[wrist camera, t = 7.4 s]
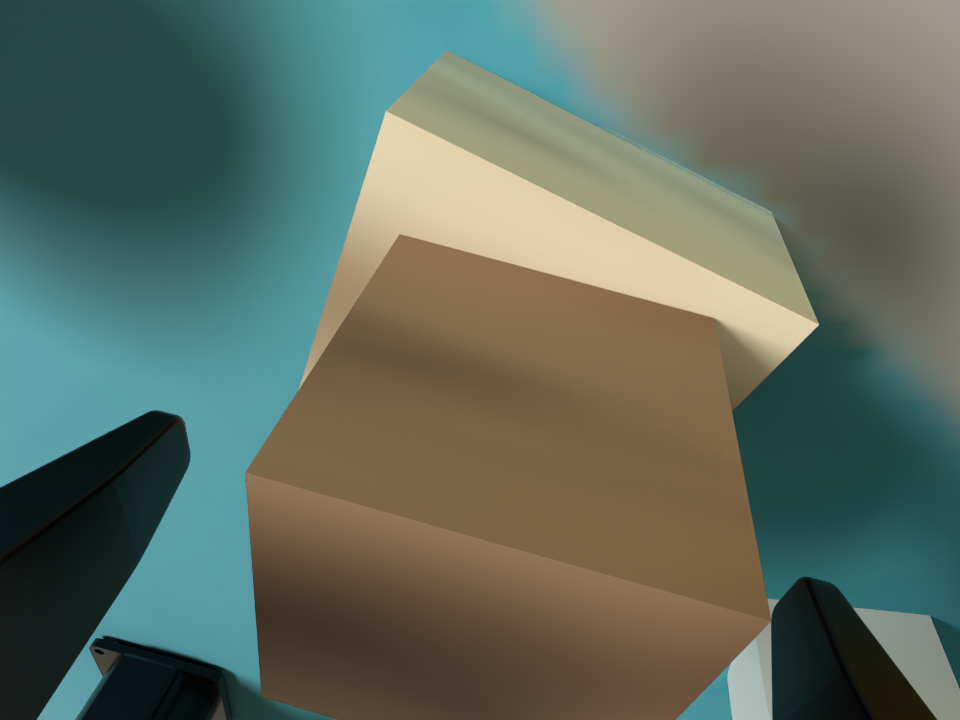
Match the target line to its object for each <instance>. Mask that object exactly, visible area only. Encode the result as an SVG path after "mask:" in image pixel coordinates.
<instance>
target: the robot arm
mask: <svg viewBox="0 0 960 720" xmlns="http://www.w3.org/2000/svg"><path fill="white" fill-rule="evenodd" d="M189 462H190V448H189V443H188V438H187V432H186V427H185V423H184V420H183V419H182V418H181V417H180V416H178V415H174V414H171V413H167V412H163V411H157V410H155V411H150V412H147V413H145V414H143V415H141V416H139V417H137V418H136V419H134V420H132V421H130V422H128V423H126V424H124V425H122V426H120V427H118V428H116V429H114V430H112V431H110V432H108V433H106V434H104V435H102V436H100V437H98V438H96V439H94V440H92V441H91V442H89V443H87V444H85V445H83V446H81V447H79V448H77V449H75V450H73V451H71V452H69V453H67V454H65V455H63V456H61V457H59V458H57V459H55V460H53V461H51V462H49V463H47V464H46V465H44V466H42V467H40V468H38V469H36V470H34V471H32V472H30V473H28V474H26V475H24V476H22V477H20V478H18V479H16V480H14V481H12V482H10V483H8V484H6V485H4V486H2V487H0V720H37V718H38V717H39V715H40V713H41V712H42V710H43V709H44V707H45V706H46V704H47V703H48V701H49V700H50V698H51V697H52V695H53V694H54V692H55V691H56V689H57V688H58V686H59V684H60V683H61V681H62V680H63V678H64V677H65V675H66V674H67V672H68V671H69V669H70V668H71V666H72V665H73V663H74V662H75V660H76V659H77V657H78V655H79V654H80V652H81V651H82V649H83V648H84V646H85V645H86V643H87V642H88V640H89V639H90V637H91V636H92V634H93V633H94V631H95V630H96V628H97V626H98V625H99V623H100V622H101V620H102V619H103V617H104V616H105V614H106V613H107V611H108V610H109V608H110V607H111V605H112V604H113V602H114V601H115V599H116V597H117V596H118V594H119V593H120V591H121V590H122V588H123V587H124V585H125V584H126V582H127V581H128V579H129V578H130V576H131V574H132V573H133V571H134V570H135V568H136V566H137V565H138V563H139V562H140V560H141V558H142V556H143V554H144V552H145V551H146V549H147V547H148V545H149V543H150V541H151V539H152V537H153V535H154V533H155V531H156V529H157V527H158V525H159V524H160V522H161V520H162V518H163V516H164V514H165V512H166V510H167V508H168V506H169V504H170V502H171V500H172V498H173V496H174V494H175V492H176V490H177V488H178V486H179V484H180V482H181V480H182V478H183V477H184V475H185V473H186V471H187V468H188V466H189ZM89 649H90V651H91V654H92V656H93V658H94V660H95V662H96V664H97V666H98V668H99V670H100V672H101V674H102V676H103V678H102V680H101V681H100V683H99V684H98V686H97V687H96V689H95V690H94V692H93V693H92V695H91V696H90V698H89V699H88V701H87V703H86V704H85V706H84V707H83V709H82V710H81V712H80V713H79V715H78V716H77V718H76V719H75V720H232V718H231V713H230V708H229V704H228V699H227V694H226V690H225V685H224V681H223V676H222V674H221V673H219V672H218V671H216V670H213V669H210V668H207V667H203V666H199V665H196V664H192V663H188V662H185V661H181V660H177V659H174V658H170V657H166V656H163V655H159V654H156V653H152V652H148V651H145V650H141V649H137V648H134V647H130V646H126V645H123V644H119V643H115V642H112V641H108V640H104V639H100V638H96V639H95V640H94V641H93V643H92V644H91V646H90V647H89ZM771 668H772V720H937V718H936V717H935V716H934V714H933V713H932V712H931V710H930V709H929V708H928V706H927V705H926V704H925V702H924V701H923V700H922V698H921V697H920V696H919V695H918V693H917V692H916V691H915V689H914V688H913V687H912V685H911V684H910V683H909V681H908V680H907V679H906V677H905V676H904V675H903V673H902V672H901V671H900V669H899V668H898V667H897V665H896V664H895V663H894V662H893V660H892V659H891V658H890V656H889V655H888V654H887V652H886V651H885V650H884V648H883V647H882V646H881V644H880V643H879V642H878V640H877V639H876V638H875V636H874V635H873V634H872V632H871V631H870V630H869V628H868V627H867V626H866V625H865V623H864V622H863V621H862V619H861V618H860V617H859V615H858V614H857V613H856V611H855V610H854V609H853V607H852V606H851V605H850V603H849V602H848V601H847V599H846V598H845V597H844V595H843V594H842V593H841V592H840V590H839V589H838V588H837V587H836V586H835V585H833V584H831V583H829V582H826V581H822V580H818V579H814V578H810V577H802V578H799V579H798V580H797V581H796V582H795V583H794V584H793V586H792V587H791V588H790V589H789V590H788V591H787V592H786V593H785V595H784V596H783V597H782V598H781V599H780V600H779V601H778V603H777V604H776V605H775V607H774V609H773V612H772V616H771Z"/></svg>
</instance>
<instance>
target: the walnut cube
mask: <svg viewBox="0 0 960 720" xmlns="http://www.w3.org/2000/svg"><path fill="white" fill-rule="evenodd" d="M245 474H246V488H247V502H248V516H249V529H250V543H251V557H252V571H253V584H254V598H255V612H256V626H257V639H258V653H259V667H260V681H261V694H262V697H263V698H267V699H270V700H273V701H277V702H280V703H284V704H287V705H291V706H294V707H297V708H301V709H304V710H308V711H311V712H314V713H318V714H321V715H325V716H328V717H331V718H335V719H338V720H676V719H677V718H678V717H679V716H680V715H681V714H682V713H683V712H684V710H685V709H686V708H687V707H688V706H689V705H690V704H691V703H692V702H693V701H694V700H695V699H696V698H697V697H698V696H699V695H700V694H701V693H702V692H703V691H704V690H705V689H706V688H707V687H708V686H709V685H710V684H711V683H712V682H713V681H714V680H715V679H716V678H717V677H718V676H719V675H720V674H721V673H722V672H723V670H724V669H725V668H726V667H727V666H728V665H729V664H730V663H731V662H732V661H733V660H734V659H735V658H736V657H737V656H738V655H739V654H740V653H741V652H742V651H743V650H744V649H745V648H746V647H747V646H748V645H749V644H750V643H751V642H752V641H753V640H754V639H755V638H756V637H757V636H758V635H759V634H760V633H761V632H762V630H763V629H764V628H765V627H766V626H767V625H768V624H769V623H770V622H771V616H770V610H769V605H768V600H767V594H766V589H765V584H764V578H763V573H762V568H761V562H760V557H759V552H758V547H757V541H756V536H755V531H754V525H753V520H752V515H751V509H750V504H749V499H748V494H747V488H746V483H745V478H744V472H743V467H742V462H741V456H740V451H739V446H738V440H737V435H736V430H735V425H734V419H733V414H732V409H731V403H730V398H729V393H728V387H727V382H726V377H725V371H724V366H723V361H722V356H721V350H720V345H719V340H718V334H717V329H716V324H715V318H711V317H708V316H704V315H700V314H696V313H693V312H689V311H685V310H682V309H678V308H674V307H670V306H667V305H663V304H659V303H656V302H652V301H648V300H644V299H641V298H637V297H633V296H630V295H626V294H622V293H618V292H615V291H611V290H607V289H604V288H600V287H596V286H592V285H589V284H585V283H581V282H578V281H574V280H570V279H566V278H563V277H559V276H555V275H552V274H548V273H544V272H540V271H537V270H533V269H529V268H526V267H522V266H518V265H514V264H511V263H507V262H503V261H499V260H496V259H492V258H488V257H484V256H481V255H477V254H473V253H469V252H465V251H462V250H458V249H454V248H450V247H447V246H443V245H439V244H435V243H432V242H428V241H424V240H420V239H417V238H413V237H409V236H405V235H401V234H399V236H398V237H397V239H396V240H395V242H394V243H393V245H392V246H391V248H390V250H389V251H388V253H387V254H386V256H385V257H384V259H383V260H382V262H381V264H380V265H379V267H378V268H377V270H376V271H375V273H374V274H373V276H372V277H371V279H370V281H369V282H368V284H367V285H366V287H365V288H364V290H363V291H362V293H361V294H360V296H359V298H358V299H357V301H356V302H355V304H354V305H353V307H352V308H351V310H350V311H349V313H348V315H347V316H346V318H345V319H344V321H343V322H342V324H341V325H340V327H339V328H338V330H337V332H336V333H335V335H334V336H333V338H332V339H331V341H330V342H329V344H328V346H327V347H326V349H325V350H324V352H323V353H322V355H321V356H320V358H319V359H318V361H317V363H316V364H315V366H314V367H313V369H312V370H311V372H310V373H309V375H308V376H307V378H306V380H305V381H304V383H303V384H302V386H301V387H300V389H299V390H298V392H297V393H296V395H295V397H294V398H293V400H292V401H291V403H290V404H289V406H288V407H287V409H286V410H285V412H284V414H283V415H282V417H281V418H280V420H279V421H278V423H277V424H276V426H275V427H274V429H273V431H272V432H271V434H270V435H269V437H268V438H267V440H266V441H265V443H264V445H263V446H262V448H261V449H260V451H259V452H258V454H257V455H256V457H255V458H254V460H253V462H252V463H251V465H250V466H249V468H248V469H247V471H246V472H245Z"/></svg>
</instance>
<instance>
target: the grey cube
mask: <svg viewBox="0 0 960 720" xmlns="http://www.w3.org/2000/svg"><path fill="white" fill-rule="evenodd" d="M767 600H768V605H769V610H770V616H772V612H773V609H774V607H775V605H776V604H777V603H778V601H779V600H775V599H767ZM853 609H854V610H855V611H856V613H857V614H858V615H859V617H860V618H861V619H862V621H863V622H864V623H865V625H866V626H867V627H868V628H869V630H870V631H871V632H872V634H873V635H874V636H875V638H876V639H877V640H878V642H879V643H880V644H881V646H882V647H883V648H884V650H885V651H886V652H887V654H888V655H889V656H890V658H891V659H892V660H893V662H894V663H895V664H896V665H897V667H898V668H899V669H900V671H901V672H902V673H903V675H904V676H905V677H906V679H907V680H908V681H909V683H910V684H911V685H912V687H913V688H914V689H915V691H916V692H917V693H918V695H919V696H920V697H921V698H922V700H923V701H924V702H925V704H926V705H927V706H928V708H929V709H930V710H931V712H932V713H933V714H934V716H935V717H936V718H937V720H960V689H959V686H958V684H957V681H956V679H955V676H954V674H953V671H952V669H951V667H950V664H949V662H948V659H947V657H946V654H945V652H944V649H943V647H942V644H941V642H940V639H939V637H938V634H937V632H936V630H935V627H934V625H933V622H932V620H931V617H930V615H921V614H911V613H901V612H892V611H882V610H872V609H862V608H853ZM727 679H728V687H729V695H730V703H731V711H732V720H772V668H771V622H770V623H769V624H768V625H767V626H766V627H765V628H764V629H763V630H762V632H761V633H760V634H759V635H758V636H757V637H756V638H755V639H754V640H753V641H752V642H751V643H750V644H749V645H748V646H747V647H746V648H745V649H744V650H743V651H742V652H741V653H740V654H739V655H738V656H737V657H736V658H735V659H734V660H733V661H732V662H731V665H730V668H729V672H728V676H727Z"/></svg>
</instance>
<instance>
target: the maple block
mask: <svg viewBox="0 0 960 720" xmlns="http://www.w3.org/2000/svg"><path fill="white" fill-rule="evenodd" d="M668 160H669V159H668ZM669 161H670V162H671V163H672V164H673V165H674V166H673V165H671V164H669V163H667V162H665V161H663V160H661V159H659V158H657V157H655V156H653V155H651V154H649V153H648V152H646V151H644V150H642V149H640V148H638V147H636V146H634V145H632V144H630V143H628V142H626V141H624V140H622V139H620V138H618V137H616V136H614V135H612V134H610V133H608V132H606V131H604V130H603V129H601V128H599V127H597V126H595V125H593V124H591V123H589V122H587V121H585V120H583V119H581V118H579V117H577V116H575V115H573V114H571V113H569V112H567V111H565V110H563V109H561V108H559V107H558V106H556V105H554V104H552V103H550V102H548V101H546V100H544V99H542V98H540V97H538V96H536V95H534V94H532V93H530V92H528V91H526V90H524V89H522V88H520V87H518V86H516V85H515V84H513V83H511V82H509V81H507V80H505V79H503V78H501V77H499V76H497V75H495V74H493V73H491V72H489V71H487V70H485V69H483V68H481V67H479V66H477V65H475V64H473V63H471V62H470V61H468V60H466V59H464V58H462V57H460V56H458V55H456V54H454V53H452V52H450V51H448V50H447V51H446V52H445V53H444V54H443V55H442V56H441V57H440V58H439V59H438V60H437V61H436V62H435V63H434V64H433V65H432V66H431V67H430V68H429V69H428V70H427V71H426V72H425V73H424V74H423V75H422V76H421V77H420V78H419V79H418V80H417V81H416V82H415V83H414V84H413V85H412V86H411V87H410V88H409V89H408V90H407V91H406V92H405V93H404V94H403V95H402V96H401V97H400V98H399V99H398V100H397V101H396V102H395V103H394V104H393V105H392V106H391V107H390V108H389V109H388V110H387V111H386V113H385V116H384V119H383V123H382V126H381V129H380V132H379V135H378V139H377V142H376V145H375V148H374V151H373V154H372V158H371V161H370V164H369V167H368V170H367V174H366V177H365V180H364V183H363V186H362V190H361V193H360V196H359V199H358V202H357V205H356V209H355V212H354V215H353V218H352V221H351V225H350V228H349V231H348V234H347V237H346V241H345V244H344V247H343V250H342V253H341V256H340V260H339V263H338V266H337V269H336V272H335V276H334V279H333V282H332V285H331V288H330V291H329V295H328V298H327V301H326V304H325V307H324V311H323V314H322V317H321V320H320V323H319V327H318V330H317V333H316V336H315V339H314V342H313V346H312V349H311V352H310V355H309V358H308V362H307V365H306V368H305V371H304V374H303V377H302V381H301V384H300V387H301V386H302V384H303V383H304V381H305V380H306V378H307V376H308V375H309V373H310V372H311V370H312V369H313V367H314V366H315V364H316V363H317V361H318V359H319V358H320V356H321V355H322V353H323V352H324V350H325V349H326V347H327V346H328V344H329V342H330V341H331V339H332V338H333V336H334V335H335V333H336V332H337V330H338V328H339V327H340V325H341V324H342V322H343V321H344V319H345V318H346V316H347V315H348V313H349V311H350V310H351V308H352V307H353V305H354V304H355V302H356V301H357V299H358V298H359V296H360V294H361V293H362V291H363V290H364V288H365V287H366V285H367V284H368V282H369V281H370V279H371V277H372V276H373V274H374V273H375V271H376V270H377V268H378V267H379V265H380V264H381V262H382V260H383V259H384V257H385V256H386V254H387V253H388V251H389V250H390V248H391V246H392V245H393V243H394V242H395V240H396V239H397V237H398V236H399V234H401V235H405V236H409V237H413V238H417V239H420V240H424V241H428V242H432V243H435V244H439V245H443V246H447V247H450V248H454V249H458V250H462V251H465V252H469V253H473V254H477V255H481V256H484V257H488V258H492V259H496V260H499V261H503V262H507V263H511V264H514V265H518V266H522V267H526V268H529V269H533V270H537V271H540V272H544V273H548V274H552V275H555V276H559V277H563V278H566V279H570V280H574V281H578V282H581V283H585V284H589V285H592V286H596V287H600V288H604V289H607V290H611V291H615V292H618V293H622V294H626V295H630V296H633V297H637V298H641V299H644V300H648V301H652V302H656V303H659V304H663V305H667V306H670V307H674V308H678V309H682V310H685V311H689V312H693V313H696V314H700V315H704V316H708V317H711V318H715V324H716V329H717V334H718V340H719V345H720V350H721V356H722V361H723V366H724V371H725V377H726V382H727V387H728V393H729V398H730V403H731V409H732V411H733V410H734V409H735V408H736V407H737V406H738V405H739V404H740V403H741V402H742V401H743V400H744V399H745V398H746V397H747V396H748V395H749V394H750V393H751V392H752V391H753V390H754V389H755V388H756V387H757V386H758V385H759V384H760V383H761V382H762V381H763V380H764V379H765V378H766V377H767V376H768V375H769V374H770V373H771V372H772V371H773V370H774V369H775V368H776V367H777V366H778V365H779V364H780V363H781V362H782V361H783V360H784V359H785V358H786V357H787V356H788V355H789V354H790V353H791V352H792V351H793V350H794V349H795V348H796V347H797V346H798V345H799V344H800V343H801V342H802V341H803V340H804V339H805V338H806V337H807V336H808V335H809V334H810V333H811V332H812V331H813V330H814V329H815V328H816V327H817V326H818V325H819V323H818V321H817V318H816V316H815V314H814V311H813V309H812V307H811V304H810V302H809V299H808V297H807V295H806V292H805V290H804V288H803V285H802V283H801V281H800V278H799V276H798V274H797V271H796V269H795V266H794V264H793V262H792V259H791V257H790V255H789V252H788V250H787V248H786V245H785V243H784V241H783V238H782V236H781V233H780V231H779V229H778V226H777V224H776V222H775V219H774V217H773V215H772V212H771V211H769V210H767V209H765V208H763V207H761V206H759V205H757V204H755V203H753V202H752V201H750V200H748V199H746V198H744V197H742V196H740V195H738V194H736V193H734V192H732V191H730V190H728V189H726V188H724V187H722V186H720V185H718V184H716V183H714V182H712V181H710V180H709V179H707V178H705V177H703V176H701V175H699V174H697V173H695V172H693V171H691V170H689V169H687V168H685V167H683V166H681V165H679V164H677V163H675V162H673V161H671V160H669ZM706 182H707V183H706ZM708 183H709V184H708ZM710 184H711V185H710ZM712 185H713V186H712ZM714 186H715V187H714ZM716 187H717V188H716ZM718 188H719V189H718ZM300 387H299V389H300Z"/></svg>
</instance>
